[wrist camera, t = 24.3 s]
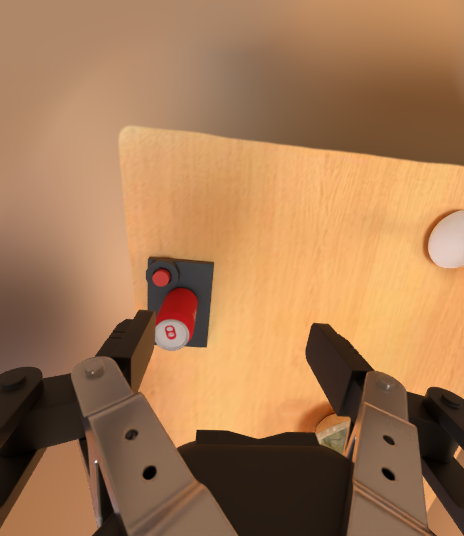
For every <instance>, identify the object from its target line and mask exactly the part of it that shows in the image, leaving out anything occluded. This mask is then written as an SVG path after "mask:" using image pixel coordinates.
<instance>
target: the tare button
mask: <svg viewBox="0 0 464 536" xmlns="http://www.w3.org/2000/svg"><path fill="white" fill-rule="evenodd" d="M170 277H171V276H170V273H169V271H168V270H166V269H158V270H157V271H156V272H155V274H154V275H153V282H154V283H155V284H156V285H157V286H165V285H167V284H168V282H169V280H170Z"/></svg>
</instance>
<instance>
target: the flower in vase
mask: <svg viewBox="0 0 464 536" xmlns="http://www.w3.org/2000/svg"><path fill="white" fill-rule="evenodd" d="M428 251H429V255H430V257H431V259H432V260H433V262H434V263H435V264H437V265H438V266H440V267H443V268H459V267H463V266H464V210H461V211H457V212H454V213H452V214H450V215H448V216H447V217H445V218H444V219H442V220H441V221H440V222H439V223H438V224H437V225H436V226H435V228H434V229H433V231H432V233H431V235H430V238H429V242H428Z"/></svg>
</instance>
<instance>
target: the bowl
mask: <svg viewBox="0 0 464 536" xmlns="http://www.w3.org/2000/svg"><path fill="white" fill-rule="evenodd" d="M350 420H351V419H350V417H340V416H337V415H336V414H332V415H330V416H327V417H325V418H324V419H323V420H322V421H321V422H320V423H319V425H318V426H317V429H316V432H315V434H316V436H317V439H318V441H319V444H321V445H324V446H326V447H329V448H331V449H333V450H335V451H337V452H339V453H340V454H342V455H343V450H344V445H345V440H346V436H347V431H348V426H349V423H350Z"/></svg>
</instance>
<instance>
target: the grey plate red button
mask: <svg viewBox="0 0 464 536" xmlns="http://www.w3.org/2000/svg"><path fill="white" fill-rule="evenodd" d="M213 267H214V262H205V261H193V260H181V259H169V258H157V257H150V258H149V259H148V269H147V271H146V280H147V282H148V310H151V311H155V312H156V317H157V315H158V312H159V310H160V308H161V306H162V304H163V302H164V300H165V298H166V296H167V294H168V293H169V292H170V291H171V290H173V289H176V288H185V289H188V290H190V291H192V292H193V293H194V294H195V296H196V298H197V302H198V305H197V312H196V318H195V325H194V332H193V335H192V338H191V339H190V341H189V342H188V343H187V344H186V345H185V346H188V347H207V336H208V325H209V313H210V302H211V290H212V279H213ZM158 269H166V270H168V271H169V273H170V276H171V277H170V280H169V282H168V284H167V285H165V286H157V285H156V284H155V283H154V282H153V275H154V274H155V272H156V271H157V270H158ZM154 345H157V344H156V342H155V344H154Z"/></svg>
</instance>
